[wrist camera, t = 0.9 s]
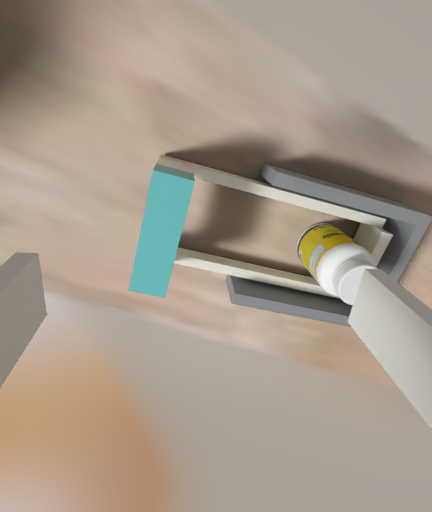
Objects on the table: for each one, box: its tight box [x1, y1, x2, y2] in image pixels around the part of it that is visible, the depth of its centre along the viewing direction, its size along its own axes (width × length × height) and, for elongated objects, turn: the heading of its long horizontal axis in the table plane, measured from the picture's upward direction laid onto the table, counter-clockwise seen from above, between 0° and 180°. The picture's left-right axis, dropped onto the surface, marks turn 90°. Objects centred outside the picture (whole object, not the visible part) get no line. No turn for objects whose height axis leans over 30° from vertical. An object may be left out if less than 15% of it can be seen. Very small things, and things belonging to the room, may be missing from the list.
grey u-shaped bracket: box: [226, 163, 432, 327], centre depth 34 cm, size 16×14×5 cm
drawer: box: [129, 154, 393, 299], centre depth 31 cm, size 24×10×9 cm, turn 74°
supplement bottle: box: [297, 223, 378, 305], centre depth 32 cm, size 5×5×10 cm
